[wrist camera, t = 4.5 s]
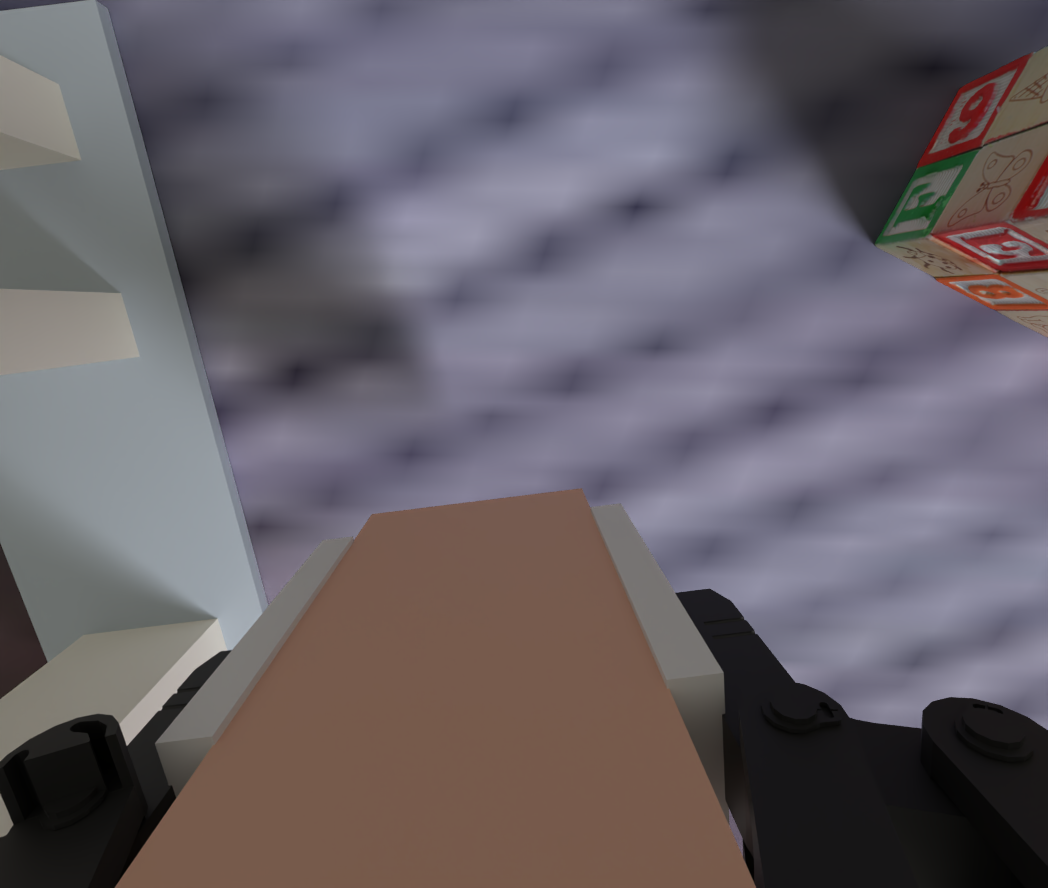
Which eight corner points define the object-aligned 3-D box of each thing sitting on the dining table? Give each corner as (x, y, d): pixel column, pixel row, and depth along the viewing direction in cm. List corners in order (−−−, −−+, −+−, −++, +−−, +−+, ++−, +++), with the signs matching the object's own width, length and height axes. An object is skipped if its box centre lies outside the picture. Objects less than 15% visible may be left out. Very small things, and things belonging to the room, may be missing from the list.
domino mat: (322, 808, 27) (318, 819, 27) (128, 832, 27) (119, 843, 27) (108, 9, 18) (94, -2, 18) (-179, 44, 18) (-202, 35, 18)
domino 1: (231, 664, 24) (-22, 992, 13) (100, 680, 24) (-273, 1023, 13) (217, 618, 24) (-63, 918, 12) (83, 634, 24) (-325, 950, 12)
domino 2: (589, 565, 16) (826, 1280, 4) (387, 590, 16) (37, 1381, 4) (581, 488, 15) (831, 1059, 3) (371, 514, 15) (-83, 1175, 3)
